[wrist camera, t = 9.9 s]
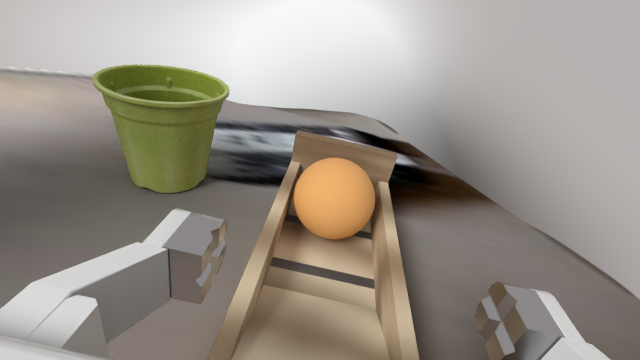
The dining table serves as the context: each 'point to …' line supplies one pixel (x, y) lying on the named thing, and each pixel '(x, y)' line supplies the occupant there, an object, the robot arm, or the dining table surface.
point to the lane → (322, 278)
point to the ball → (334, 198)
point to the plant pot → (163, 121)
